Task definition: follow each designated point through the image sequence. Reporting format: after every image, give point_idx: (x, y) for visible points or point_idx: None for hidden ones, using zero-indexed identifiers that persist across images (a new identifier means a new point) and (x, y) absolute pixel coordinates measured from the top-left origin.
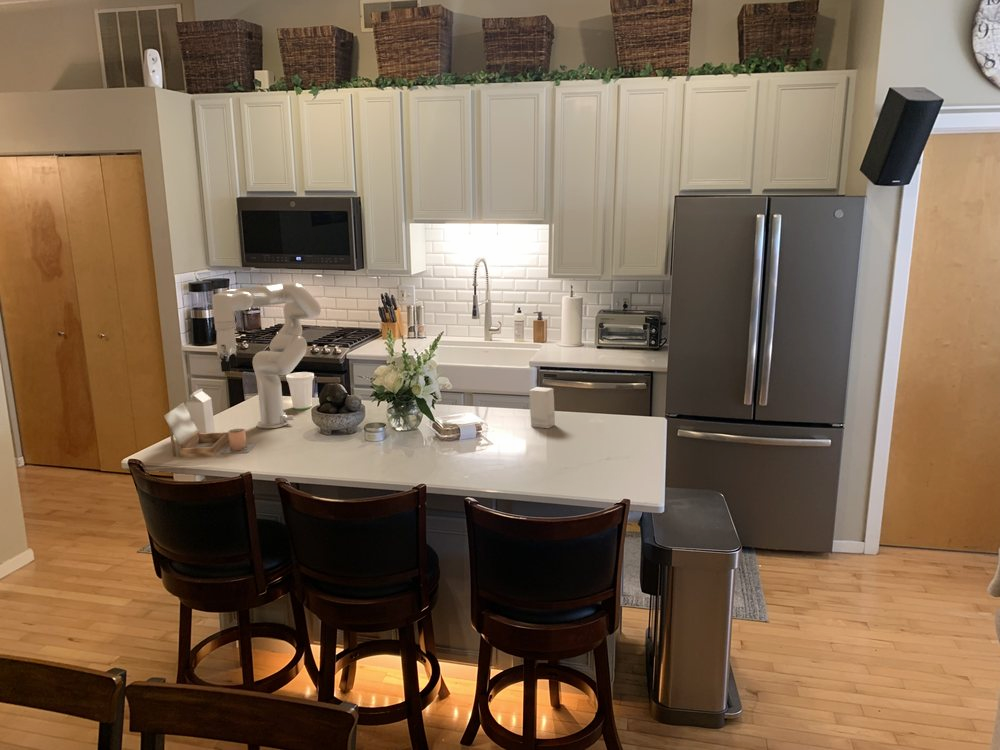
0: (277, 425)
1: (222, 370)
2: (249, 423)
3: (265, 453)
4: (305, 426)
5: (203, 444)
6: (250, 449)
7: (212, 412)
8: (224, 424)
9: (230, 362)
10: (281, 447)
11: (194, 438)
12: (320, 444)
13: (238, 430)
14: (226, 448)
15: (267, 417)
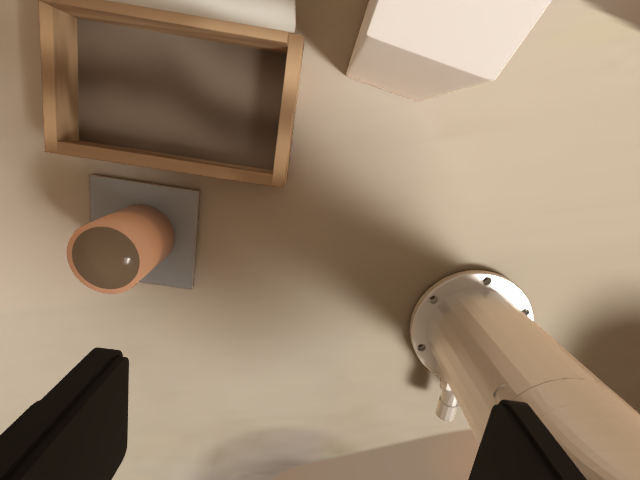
0: (415, 350)
1: (87, 367)
2: (532, 232)
3: (91, 328)
4: (398, 430)
5: (241, 77)
6: None
7: (450, 91)
8: (566, 123)
9: (522, 475)
10: (154, 372)
11: (213, 33)
12: (165, 477)
13: (105, 266)
14: (153, 188)
15: (440, 334)
